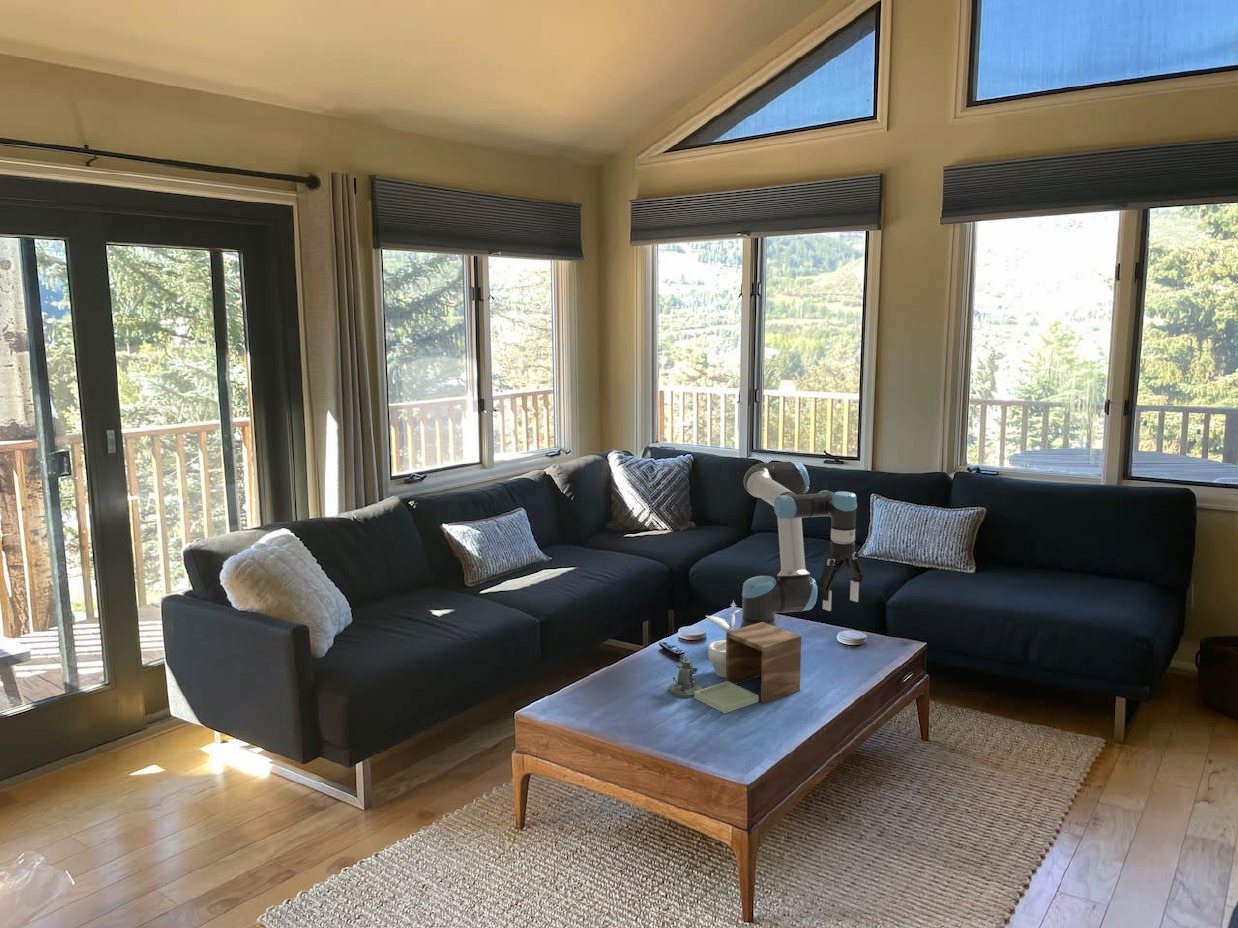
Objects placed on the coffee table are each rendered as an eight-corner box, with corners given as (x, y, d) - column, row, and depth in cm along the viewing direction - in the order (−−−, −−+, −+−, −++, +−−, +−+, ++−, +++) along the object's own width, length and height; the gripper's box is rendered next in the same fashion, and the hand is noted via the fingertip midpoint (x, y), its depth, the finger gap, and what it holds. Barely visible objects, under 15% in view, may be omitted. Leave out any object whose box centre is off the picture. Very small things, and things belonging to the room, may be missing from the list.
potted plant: (747, 670, 319) (748, 598, 315) (736, 683, 309) (737, 609, 304) (711, 664, 324) (712, 593, 320) (699, 677, 314) (700, 604, 310)
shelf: (725, 685, 307) (726, 631, 304) (762, 673, 316) (762, 621, 313) (763, 703, 293) (764, 647, 290) (799, 690, 303) (801, 636, 300)
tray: (694, 698, 297) (694, 691, 297) (727, 687, 306) (727, 680, 305) (724, 713, 286) (724, 706, 286) (758, 701, 294) (758, 695, 294)
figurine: (705, 686, 306) (706, 651, 304) (697, 700, 296) (697, 663, 294) (674, 682, 310) (674, 647, 308) (664, 695, 300) (664, 659, 298)
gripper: (826, 550, 293) (824, 616, 297) (877, 536, 308) (874, 599, 312) (807, 545, 299) (805, 610, 302) (858, 532, 314) (855, 594, 318)
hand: (840, 605), depth 307 cm, fingers open, 13 cm apart
